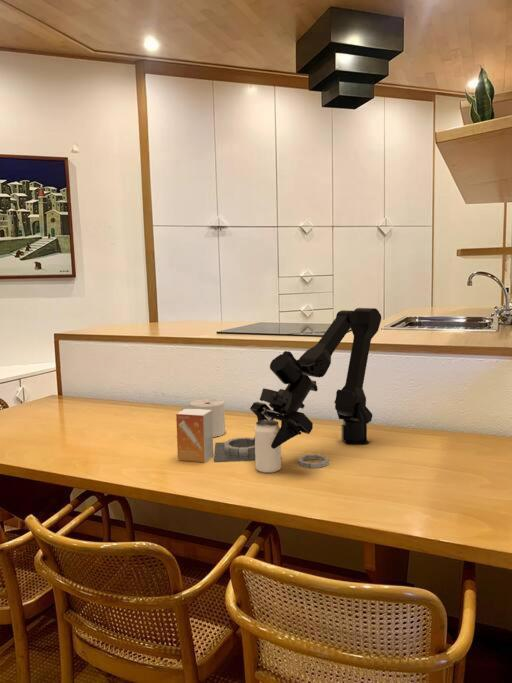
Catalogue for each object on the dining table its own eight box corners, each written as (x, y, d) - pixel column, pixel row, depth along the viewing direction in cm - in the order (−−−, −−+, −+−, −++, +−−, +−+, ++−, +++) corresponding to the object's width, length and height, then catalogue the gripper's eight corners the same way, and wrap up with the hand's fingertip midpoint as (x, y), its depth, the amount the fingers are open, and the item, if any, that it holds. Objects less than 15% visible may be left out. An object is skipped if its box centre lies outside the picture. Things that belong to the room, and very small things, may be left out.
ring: (325, 457, 141) (325, 453, 141) (330, 467, 134) (330, 463, 134) (297, 458, 141) (297, 455, 141) (301, 468, 134) (300, 464, 133)
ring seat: (276, 441, 157) (275, 433, 157) (281, 459, 141) (281, 450, 141) (215, 443, 156) (215, 436, 156) (213, 462, 140) (213, 453, 140)
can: (271, 475, 129) (270, 427, 128) (250, 470, 133) (249, 423, 132) (286, 467, 135) (285, 421, 133) (265, 462, 138) (264, 418, 137)
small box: (177, 460, 142) (175, 413, 141) (187, 453, 148) (185, 407, 147) (205, 463, 140) (203, 415, 138) (214, 455, 146) (212, 409, 144)
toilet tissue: (232, 432, 168) (231, 401, 167) (204, 441, 159) (202, 409, 158) (209, 427, 175) (208, 397, 174) (181, 435, 166) (179, 404, 165)
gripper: (254, 372, 141) (222, 420, 135) (303, 380, 127) (270, 434, 121) (277, 396, 147) (247, 443, 141) (326, 407, 132) (295, 460, 127)
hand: (263, 444), depth 132 cm, fingers closed on can, 6 cm apart
